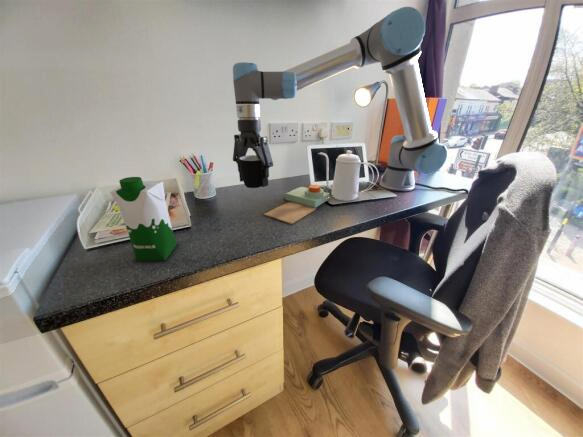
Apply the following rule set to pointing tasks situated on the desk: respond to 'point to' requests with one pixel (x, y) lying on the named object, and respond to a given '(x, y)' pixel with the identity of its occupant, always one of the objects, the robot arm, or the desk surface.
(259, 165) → the mug
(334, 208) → the desk surface
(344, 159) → the coffeepot
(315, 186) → the switch
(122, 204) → the milk carton
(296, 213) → the coaster
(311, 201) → the push button box
